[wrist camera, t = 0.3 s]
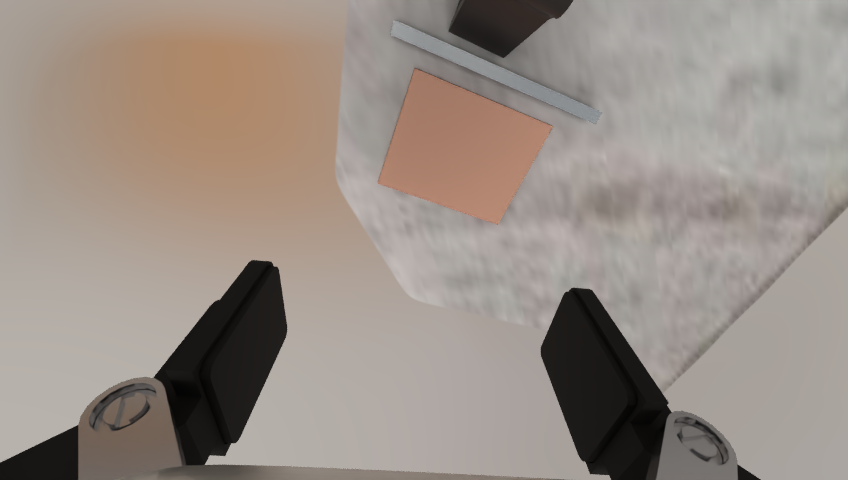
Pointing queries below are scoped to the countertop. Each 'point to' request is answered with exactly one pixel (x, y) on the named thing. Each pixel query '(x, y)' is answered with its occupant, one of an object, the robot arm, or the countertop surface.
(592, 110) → the acrylic wall
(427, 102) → the mat
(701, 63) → the countertop surface
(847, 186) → the countertop surface
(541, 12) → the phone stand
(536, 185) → the countertop surface
